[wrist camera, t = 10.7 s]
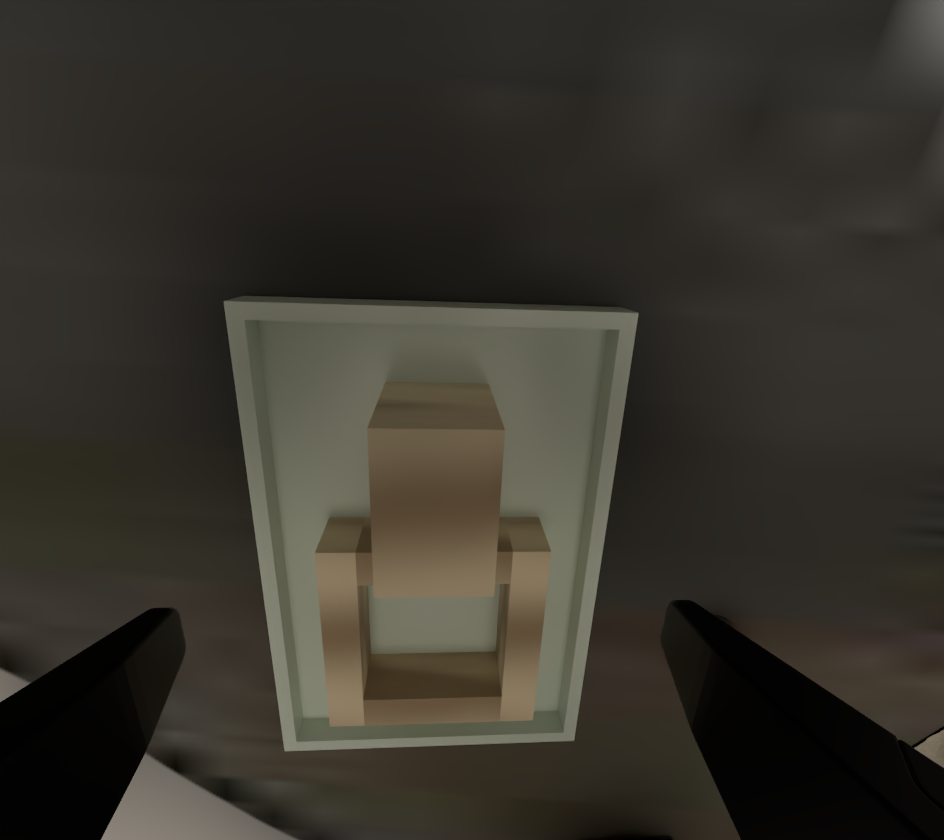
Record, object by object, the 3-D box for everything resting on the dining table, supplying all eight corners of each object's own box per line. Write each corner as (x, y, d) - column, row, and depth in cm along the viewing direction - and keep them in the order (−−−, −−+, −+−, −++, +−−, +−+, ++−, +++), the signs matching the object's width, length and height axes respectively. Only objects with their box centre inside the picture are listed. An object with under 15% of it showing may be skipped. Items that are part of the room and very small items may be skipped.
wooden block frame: (523, 674, 24) (544, 777, 19) (340, 678, 24) (316, 786, 19) (551, 385, 19) (588, 430, 14) (319, 380, 18) (277, 427, 14)
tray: (565, 708, 26) (573, 740, 24) (294, 717, 25) (284, 751, 23) (620, 306, 19) (638, 313, 17) (244, 295, 18) (223, 301, 16)
